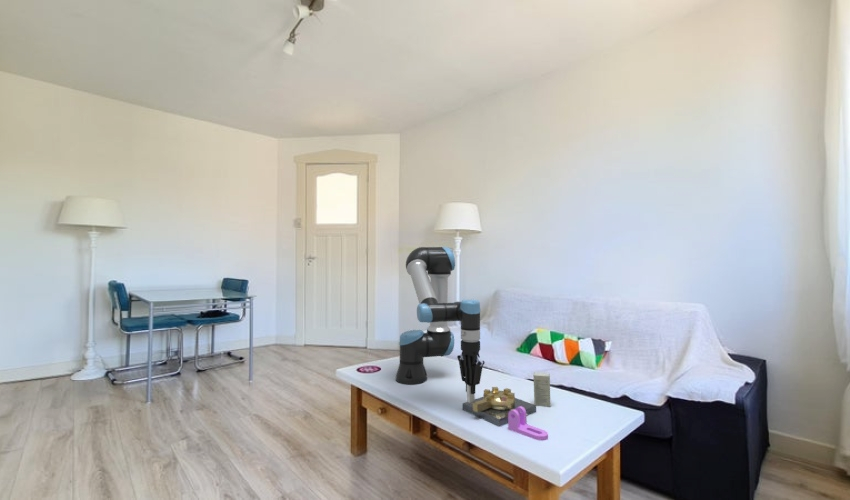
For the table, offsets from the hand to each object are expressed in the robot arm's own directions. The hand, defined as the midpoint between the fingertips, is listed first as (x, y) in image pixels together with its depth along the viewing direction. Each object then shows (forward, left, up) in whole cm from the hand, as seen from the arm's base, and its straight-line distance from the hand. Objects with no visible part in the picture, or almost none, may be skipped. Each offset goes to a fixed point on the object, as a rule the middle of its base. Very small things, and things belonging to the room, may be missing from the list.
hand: (470, 401), depth 149 cm
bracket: (+25, +4, -4) cm, 26 cm away
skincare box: (+12, +29, -4) cm, 31 cm away
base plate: (+8, +10, -4) cm, 13 cm away
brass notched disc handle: (+6, +6, -1) cm, 9 cm away
